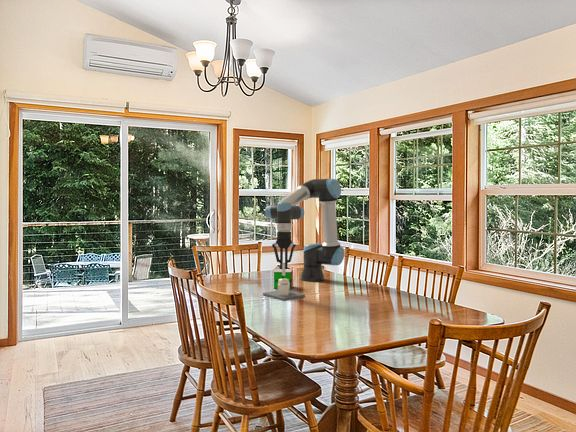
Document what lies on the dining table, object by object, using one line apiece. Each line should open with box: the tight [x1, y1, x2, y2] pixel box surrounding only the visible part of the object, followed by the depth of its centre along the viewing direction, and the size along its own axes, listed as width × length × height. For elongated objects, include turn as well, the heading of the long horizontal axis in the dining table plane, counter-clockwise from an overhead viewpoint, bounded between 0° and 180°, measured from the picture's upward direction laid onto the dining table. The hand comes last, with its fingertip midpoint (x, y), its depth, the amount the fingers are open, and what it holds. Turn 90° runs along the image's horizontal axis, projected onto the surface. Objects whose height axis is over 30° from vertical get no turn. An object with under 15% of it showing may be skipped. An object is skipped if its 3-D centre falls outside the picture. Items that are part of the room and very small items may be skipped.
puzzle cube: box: [273, 268, 294, 290], centre depth 268 cm, size 10×10×10 cm
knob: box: [277, 279, 290, 295], centre depth 244 cm, size 8×6×8 cm
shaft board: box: [262, 284, 306, 301], centre depth 244 cm, size 15×17×6 cm
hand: (283, 275), depth 244 cm, fingers closed
